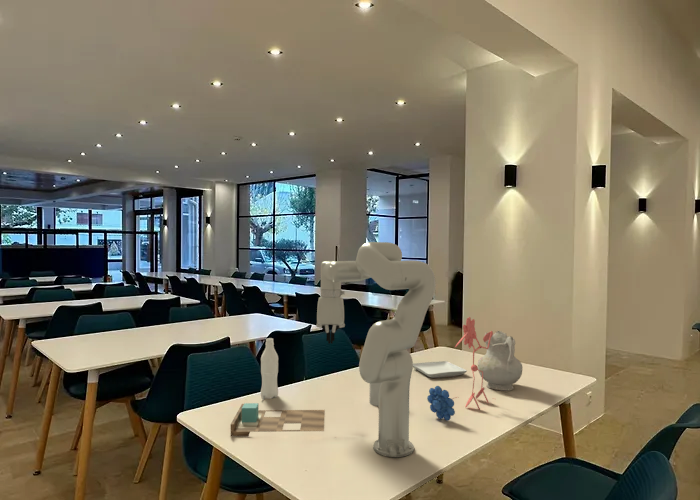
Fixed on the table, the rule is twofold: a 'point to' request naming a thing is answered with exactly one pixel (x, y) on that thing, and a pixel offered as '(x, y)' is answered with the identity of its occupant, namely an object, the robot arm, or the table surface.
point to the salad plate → (439, 369)
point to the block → (250, 412)
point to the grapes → (441, 403)
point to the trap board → (278, 421)
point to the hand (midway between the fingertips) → (330, 342)
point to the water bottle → (269, 370)
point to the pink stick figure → (469, 336)
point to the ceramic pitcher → (500, 363)
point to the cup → (374, 394)
